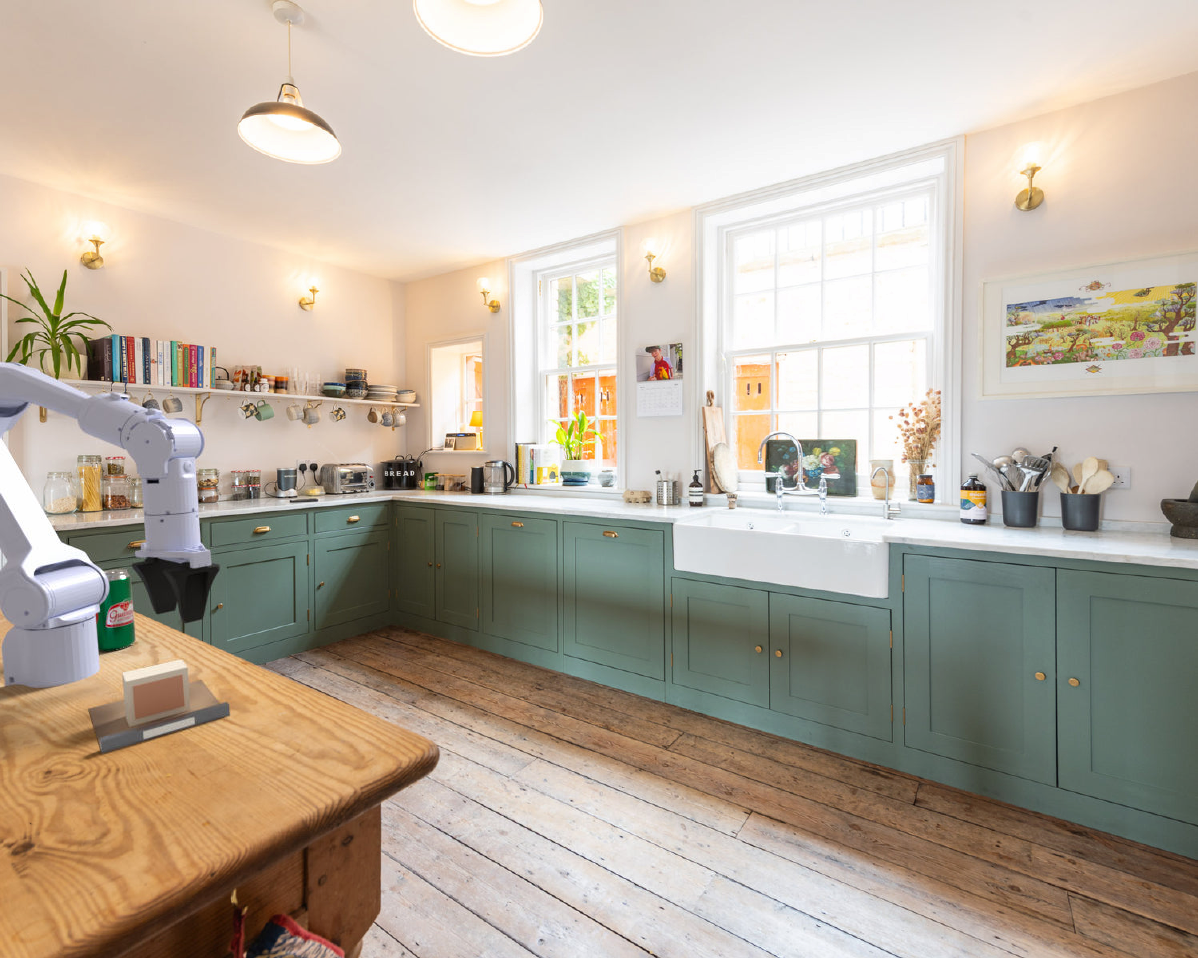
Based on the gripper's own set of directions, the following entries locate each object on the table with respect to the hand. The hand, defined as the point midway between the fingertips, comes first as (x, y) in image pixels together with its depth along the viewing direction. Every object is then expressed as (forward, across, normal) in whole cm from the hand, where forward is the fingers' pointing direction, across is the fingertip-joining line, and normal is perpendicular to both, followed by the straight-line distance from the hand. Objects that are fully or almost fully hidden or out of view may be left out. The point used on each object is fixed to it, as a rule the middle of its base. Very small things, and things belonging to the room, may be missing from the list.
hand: (179, 616), depth 77 cm
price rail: (+8, +16, -8) cm, 19 cm away
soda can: (+10, -27, +2) cm, 29 cm away
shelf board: (+9, +9, -6) cm, 15 cm away
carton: (+8, +10, -6) cm, 14 cm away
